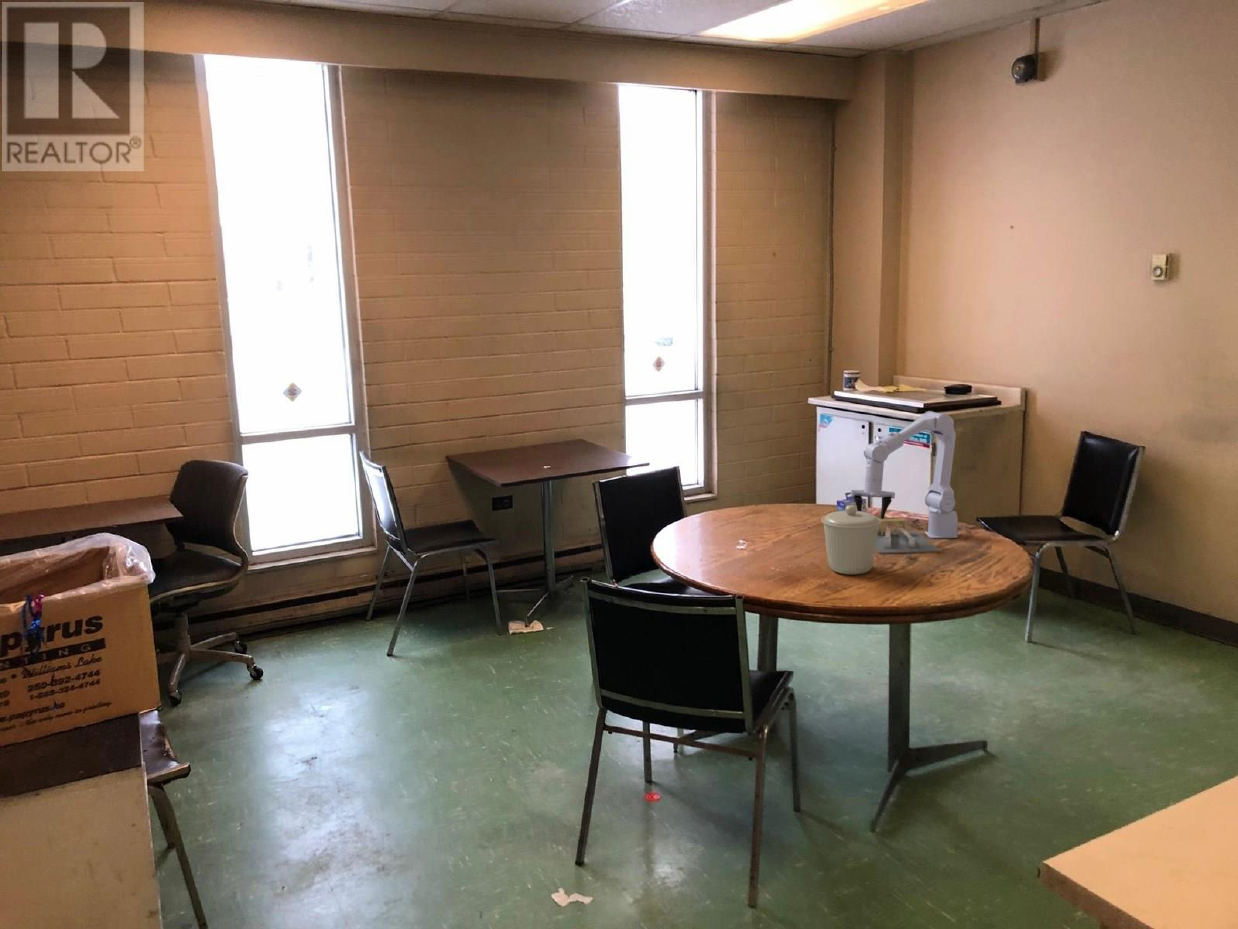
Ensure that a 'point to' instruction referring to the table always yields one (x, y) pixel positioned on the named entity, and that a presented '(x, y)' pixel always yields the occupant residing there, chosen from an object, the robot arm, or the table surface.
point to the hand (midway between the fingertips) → (870, 517)
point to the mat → (901, 547)
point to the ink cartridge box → (849, 503)
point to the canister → (850, 540)
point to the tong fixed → (906, 537)
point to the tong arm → (887, 538)
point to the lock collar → (890, 523)
